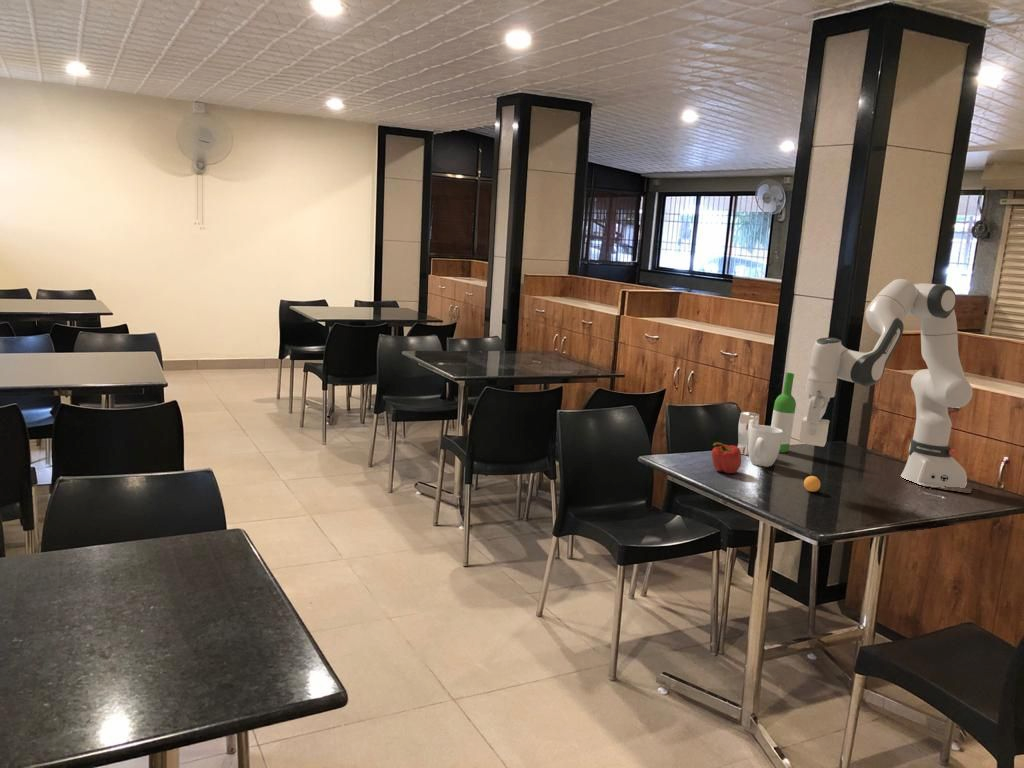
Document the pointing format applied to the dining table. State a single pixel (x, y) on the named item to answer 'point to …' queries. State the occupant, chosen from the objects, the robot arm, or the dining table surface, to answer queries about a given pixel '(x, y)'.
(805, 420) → the white cube
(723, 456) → the vegetable
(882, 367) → the robot arm
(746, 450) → the beer glass
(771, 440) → the mug
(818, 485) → the ball
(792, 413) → the wine bottle
